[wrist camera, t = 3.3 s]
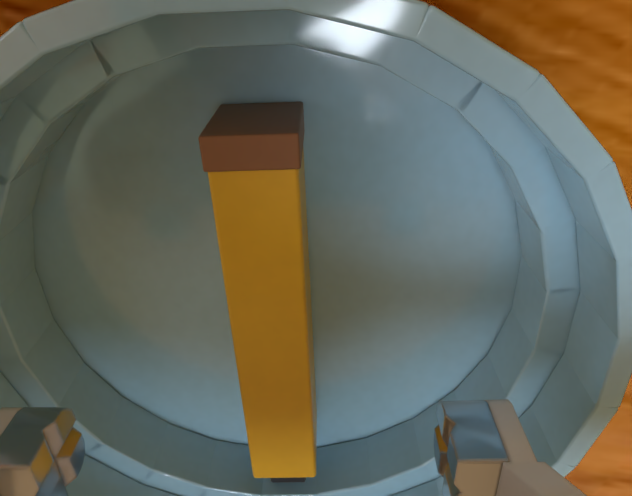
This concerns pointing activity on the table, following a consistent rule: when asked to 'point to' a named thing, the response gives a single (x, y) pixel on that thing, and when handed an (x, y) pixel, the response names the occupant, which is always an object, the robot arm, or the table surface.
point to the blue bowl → (323, 240)
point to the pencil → (266, 277)
